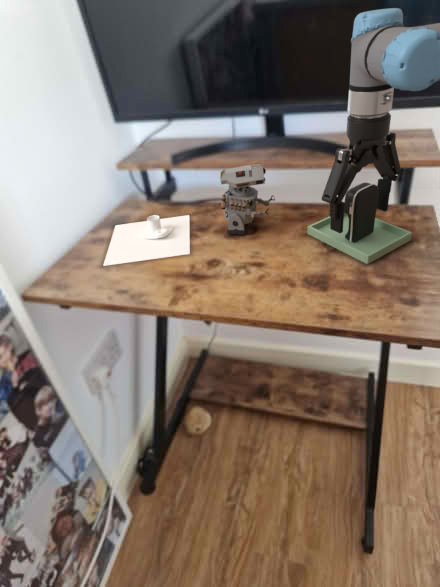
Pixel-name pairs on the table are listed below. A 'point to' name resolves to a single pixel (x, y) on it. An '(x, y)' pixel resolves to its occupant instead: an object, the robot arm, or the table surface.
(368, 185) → the battery charger
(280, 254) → the table surface
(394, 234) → the tray
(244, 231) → the figurine
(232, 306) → the table surface
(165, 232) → the teacup and saucer
